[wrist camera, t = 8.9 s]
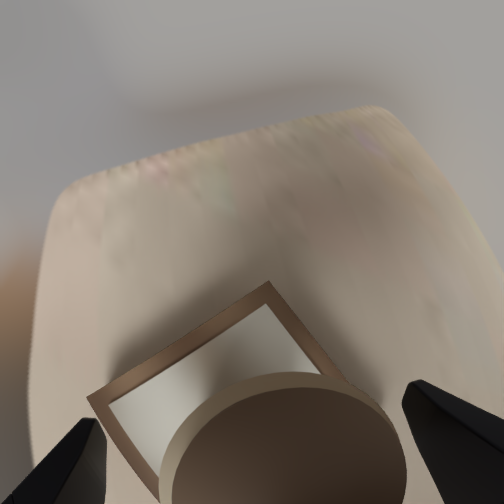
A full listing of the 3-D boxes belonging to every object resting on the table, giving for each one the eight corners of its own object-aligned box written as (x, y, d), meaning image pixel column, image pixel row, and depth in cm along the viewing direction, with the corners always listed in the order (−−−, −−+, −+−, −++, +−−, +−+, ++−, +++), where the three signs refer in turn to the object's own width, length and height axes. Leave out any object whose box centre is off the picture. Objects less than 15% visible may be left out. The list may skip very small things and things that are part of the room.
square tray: (221, 545, 13) (221, 567, 10) (104, 397, 17) (84, 397, 14) (372, 437, 17) (397, 441, 14) (261, 296, 21) (269, 278, 18)
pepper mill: (258, 484, 13) (332, 616, 2) (181, 441, 14) (103, 526, 3) (303, 414, 15) (455, 428, 4) (228, 372, 15) (250, 316, 5)
